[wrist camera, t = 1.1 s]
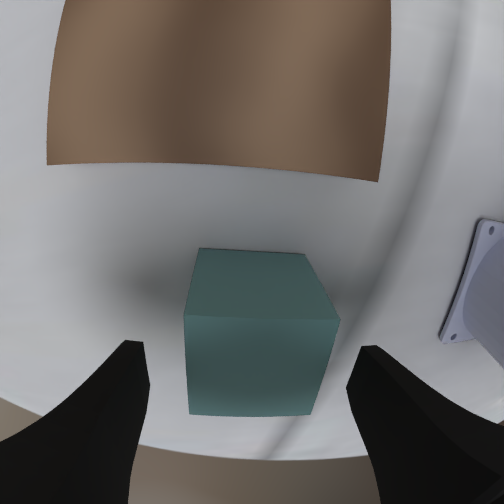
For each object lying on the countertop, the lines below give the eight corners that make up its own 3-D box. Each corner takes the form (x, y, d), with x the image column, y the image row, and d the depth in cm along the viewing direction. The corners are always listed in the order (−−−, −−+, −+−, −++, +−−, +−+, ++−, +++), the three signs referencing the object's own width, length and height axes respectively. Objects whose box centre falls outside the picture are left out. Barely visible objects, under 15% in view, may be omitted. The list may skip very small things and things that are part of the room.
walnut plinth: (367, -56, 8) (384, -74, 6) (357, 174, 12) (378, 182, 10) (111, -70, 6) (98, -89, 5) (71, 159, 11) (46, 165, 9)
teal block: (304, 254, 13) (340, 319, 9) (289, 337, 15) (310, 414, 10) (199, 248, 13) (183, 314, 8) (198, 334, 15) (189, 414, 10)
